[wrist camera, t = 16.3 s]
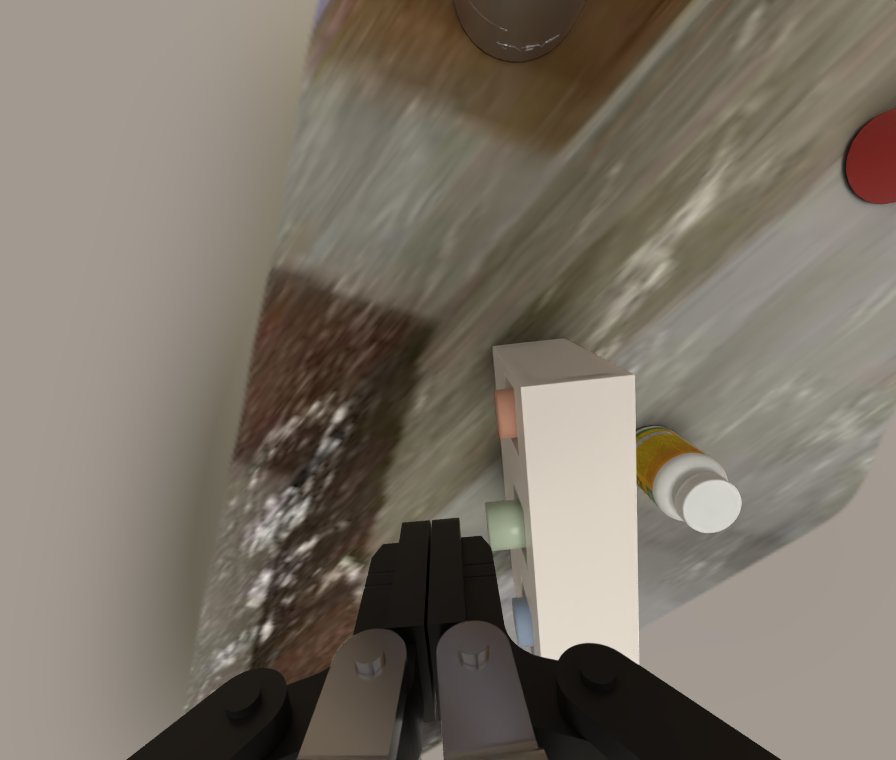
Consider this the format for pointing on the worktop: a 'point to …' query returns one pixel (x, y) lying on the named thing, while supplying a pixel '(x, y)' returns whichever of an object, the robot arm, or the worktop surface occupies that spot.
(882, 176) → the beer can
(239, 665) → the worktop surface
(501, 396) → the terracotta button
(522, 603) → the blue button
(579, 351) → the console
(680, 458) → the supplement bottle
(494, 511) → the sage button
